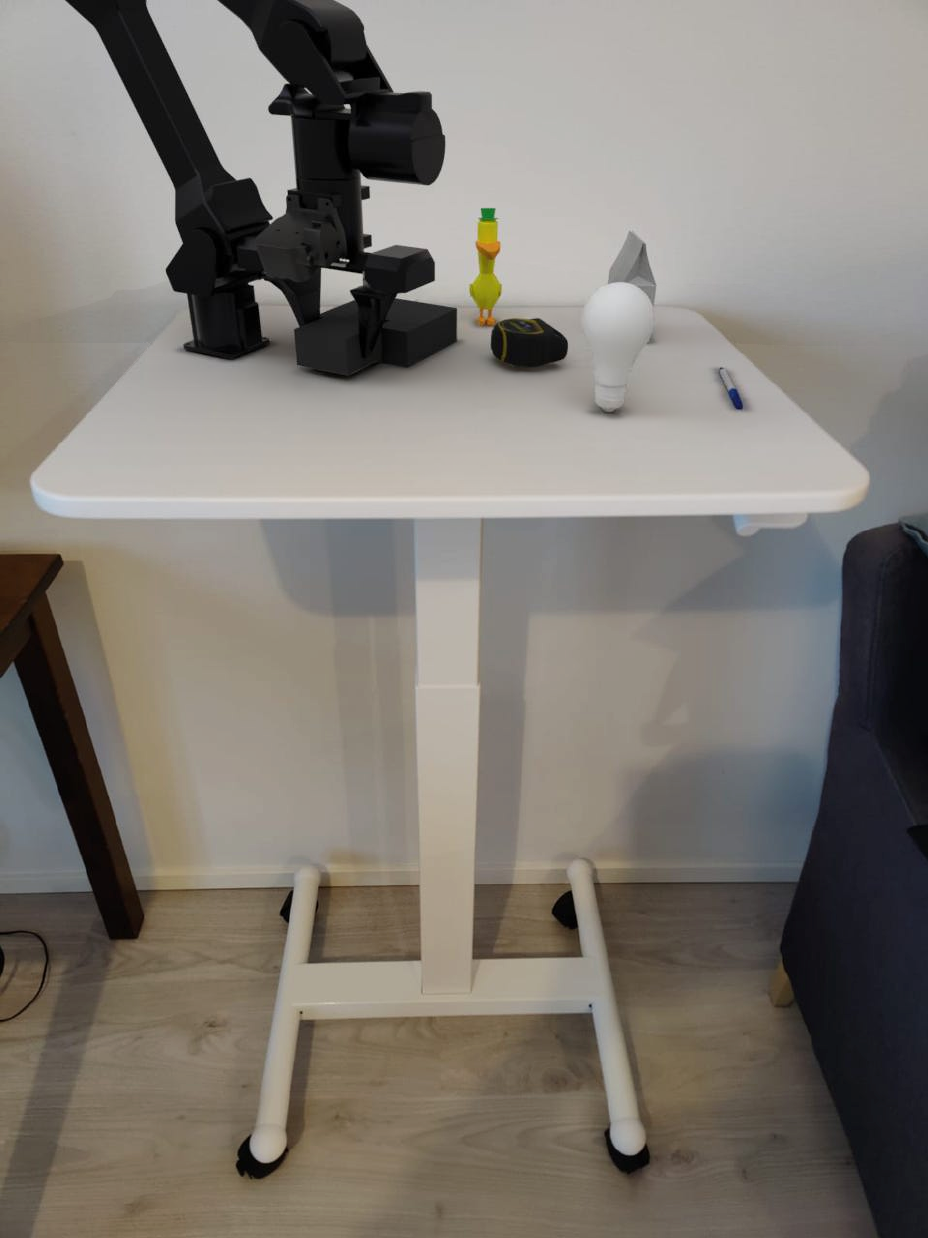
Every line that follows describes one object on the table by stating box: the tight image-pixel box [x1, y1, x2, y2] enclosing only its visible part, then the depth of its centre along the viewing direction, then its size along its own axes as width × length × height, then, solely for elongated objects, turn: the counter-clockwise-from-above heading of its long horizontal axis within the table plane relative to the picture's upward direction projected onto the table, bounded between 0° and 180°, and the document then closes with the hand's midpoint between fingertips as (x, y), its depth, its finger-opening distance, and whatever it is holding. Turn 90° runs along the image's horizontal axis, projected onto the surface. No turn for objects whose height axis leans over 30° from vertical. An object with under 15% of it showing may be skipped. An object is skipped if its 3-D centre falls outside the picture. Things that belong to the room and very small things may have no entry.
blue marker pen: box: [718, 366, 744, 411], centre depth 87 cm, size 10×1×1 cm, turn 177°
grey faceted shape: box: [607, 230, 657, 344], centre depth 99 cm, size 4×7×10 cm, turn 3°
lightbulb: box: [580, 282, 656, 413], centre depth 79 cm, size 6×6×11 cm
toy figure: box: [468, 207, 503, 327], centre depth 101 cm, size 7×4×12 cm, turn 5°
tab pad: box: [293, 312, 382, 377], centre depth 90 cm, size 6×8×4 cm
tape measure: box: [490, 317, 569, 368], centre depth 92 cm, size 7×7×4 cm
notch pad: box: [320, 297, 458, 368], centre depth 96 cm, size 11×10×4 cm
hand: (339, 351), depth 90 cm, fingers closed on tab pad, 6 cm apart
